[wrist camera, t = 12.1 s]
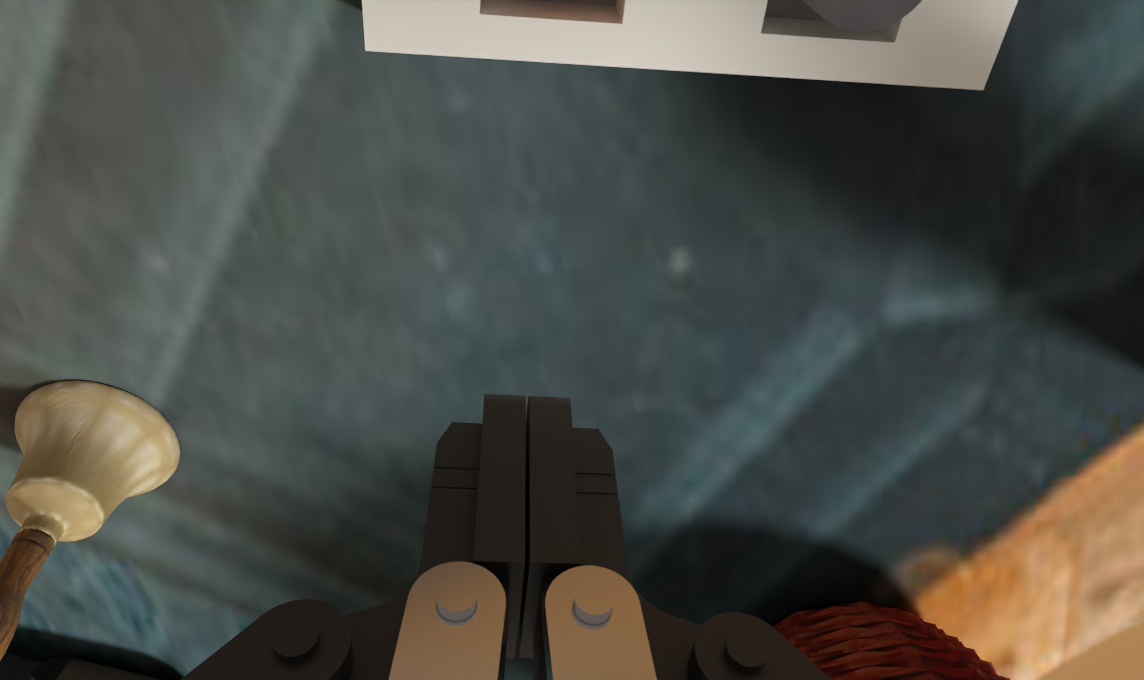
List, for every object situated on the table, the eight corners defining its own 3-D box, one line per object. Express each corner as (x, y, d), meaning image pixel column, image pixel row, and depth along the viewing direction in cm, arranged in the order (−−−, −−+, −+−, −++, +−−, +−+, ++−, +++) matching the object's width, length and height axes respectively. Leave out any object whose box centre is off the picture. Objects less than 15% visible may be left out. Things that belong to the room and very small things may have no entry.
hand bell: (-11, 381, 41) (-256, 670, 28) (154, 377, 41) (-12, 659, 28) (51, 493, 46) (-133, 782, 33) (198, 488, 46) (74, 772, 33)
